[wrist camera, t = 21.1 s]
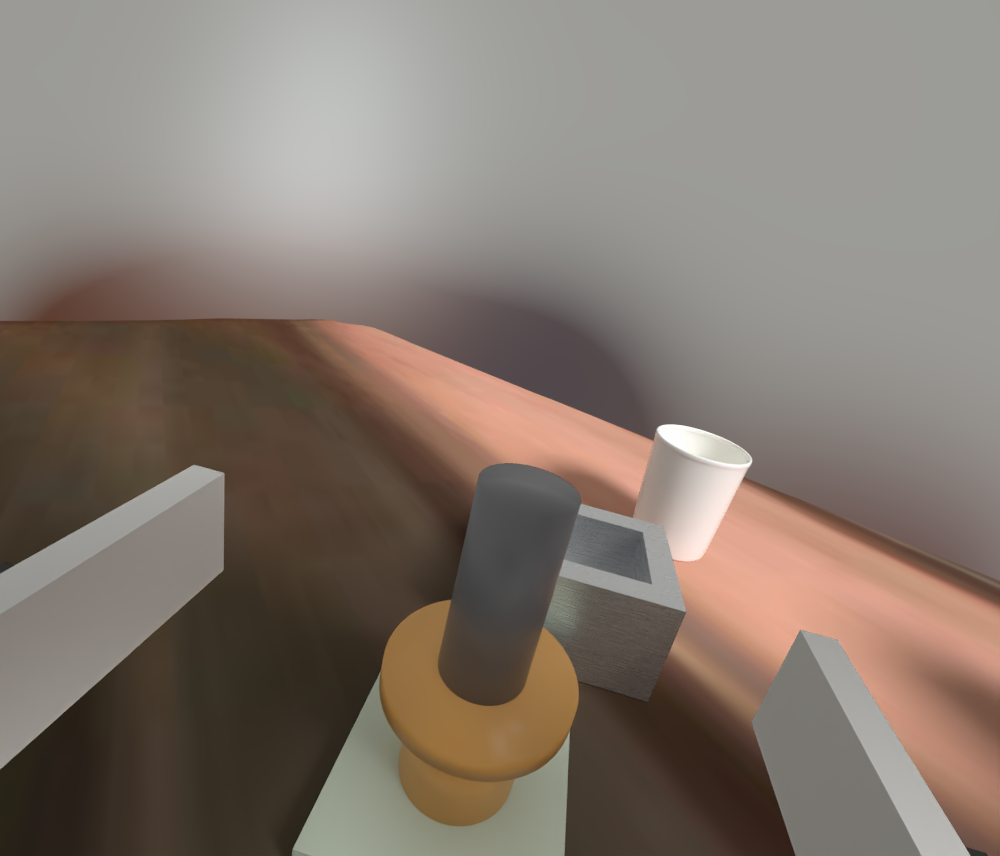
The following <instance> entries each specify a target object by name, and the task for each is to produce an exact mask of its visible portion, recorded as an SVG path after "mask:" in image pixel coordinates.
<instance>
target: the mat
mask: <svg viewBox="0 0 1000 856" xmlns="http://www.w3.org/2000/svg"><path fill="white" fill-rule="evenodd" d="M380 673H381V671H380ZM380 673H379V676H378V678H377V680H376V682H375V684H374V686H373V688H372V690H371V692H370V694H369V696H368V698H367V700H366V702H365V704H364V706H363V708H362V710H361V712H360V714H359V716H358V718H357V720H356V722H355V724H354V726H353V728H352V730H351V732H350V734H349V736H348V738H347V740H346V742H345V744H344V746H343V748H342V750H341V752H340V754H339V756H338V758H337V760H336V763H335V765H334V767H333V769H332V771H331V773H330V775H329V777H328V779H327V781H326V783H325V785H324V787H323V789H322V791H321V793H320V795H319V797H318V799H317V801H316V803H315V805H314V807H313V809H312V811H311V813H310V815H309V817H308V819H307V821H306V823H305V825H304V827H303V829H302V831H301V833H300V835H299V837H298V839H297V841H296V843H295V845H294V847H293V850H292V856H564V852H565V829H566V807H567V784H568V761H569V738H570V731H569V733H568V736H567V738H566V740H565V742H564V744H563V746H562V747H561V749H560V750H559V751H558V753H557V754H556V755H555V756H554V757H553V758H552V759H551V760H550V761H549V762H548V763H547V764H545V765H544V766H543V767H541V768H540V769H538V770H536V771H534V772H532V773H530V774H528V775H526V776H523V777H520V778H517V779H515V780H514V783H513V786H512V789H511V791H510V794H509V796H508V798H507V800H506V802H505V803H504V805H503V806H502V807H501V809H500V810H499V811H498V812H497V813H496V814H494V815H493V816H492V817H490V818H489V819H487V820H485V821H483V822H480V823H478V824H475V825H469V826H450V825H446V824H442V823H439V822H437V821H434V820H432V819H431V818H429V817H427V816H426V815H424V814H423V813H422V812H421V811H419V810H418V809H417V808H416V807H415V806H414V805H413V803H412V802H411V801H410V799H409V798H408V796H407V795H406V793H405V791H404V789H403V786H402V784H401V780H400V776H399V768H398V766H399V755H400V749H401V745H402V742H401V741H400V740H399V738H398V737H397V736H396V735H395V733H394V732H393V730H392V728H391V727H390V725H389V723H388V721H387V719H386V717H385V714H384V712H383V708H382V704H381V700H380V692H379V682H380Z"/></svg>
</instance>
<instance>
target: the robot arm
mask: <svg viewBox="0 0 1000 856" xmlns="http://www.w3.org/2000/svg"><path fill="white" fill-rule="evenodd" d="M223 570H224V473H222V472H218V471H215V470H211V469H207V468H204V467H200V466H196V465H193V466H191V467H189V468H188V469H186V470H184V471H182V472H180V473H179V474H177V475H175V476H173V477H172V478H170V479H168V480H166V481H164V482H163V483H161V484H159V485H157V486H155V487H154V488H152V489H150V490H148V491H147V492H145V493H143V494H141V495H139V496H138V497H136V498H134V499H132V500H131V501H129V502H127V503H125V504H123V505H122V506H120V507H118V508H116V509H114V510H113V511H111V512H109V513H107V514H106V515H104V516H102V517H100V518H98V519H97V520H95V521H93V522H91V523H90V524H88V525H86V526H84V527H82V528H81V529H79V530H77V531H75V532H74V533H72V534H70V535H68V536H66V537H65V538H63V539H61V540H59V541H57V542H56V543H54V544H52V545H50V546H49V547H47V548H45V549H43V550H41V551H40V552H38V553H36V554H34V555H33V556H31V557H29V558H27V559H25V560H24V561H22V562H20V563H18V564H16V565H12V564H9V563H4V564H1V565H0V769H1V768H2V767H3V766H4V765H6V764H7V763H8V762H9V761H10V760H11V759H12V758H13V757H15V756H16V755H17V754H18V753H19V752H20V751H21V750H22V749H23V748H25V747H26V746H27V745H28V744H29V743H30V742H31V741H32V740H34V739H35V738H36V737H37V736H38V735H39V734H40V733H41V732H43V731H44V730H45V729H46V728H47V727H48V726H49V725H50V724H52V723H53V722H54V721H55V720H56V719H57V718H58V717H59V716H60V715H62V714H63V713H64V712H65V711H66V710H67V709H68V708H69V707H71V706H72V705H73V704H74V703H75V702H76V701H77V700H78V699H80V698H81V697H82V696H83V695H84V694H85V693H86V692H87V691H89V690H90V689H91V688H92V687H93V686H94V685H95V684H96V683H97V682H99V681H100V680H101V679H102V678H103V677H104V676H105V675H106V674H108V673H109V672H110V671H111V670H112V669H113V668H114V667H115V666H117V665H118V664H119V663H120V662H121V661H122V660H123V659H124V658H126V657H127V656H128V655H129V654H130V653H131V652H132V651H133V650H134V649H136V648H137V647H138V646H139V645H140V644H141V643H142V642H143V641H145V640H146V639H147V638H148V637H149V636H150V635H151V634H152V633H154V632H155V631H156V630H157V629H158V628H159V627H160V626H161V625H163V624H164V623H165V622H166V621H167V620H168V619H169V618H170V617H172V616H173V615H174V614H175V613H176V612H177V611H178V610H179V609H180V608H182V607H183V606H184V605H185V604H186V603H187V602H188V601H189V600H191V599H192V598H193V597H194V596H195V595H196V594H197V593H198V592H200V591H201V590H202V589H203V588H204V587H205V586H206V585H207V584H209V583H210V582H211V581H212V580H213V579H214V578H215V577H216V576H217V575H219V574H220V573H221V572H222V571H223ZM751 723H752V726H753V729H754V732H755V735H756V738H757V741H758V744H759V747H760V750H761V753H762V756H763V759H764V762H765V765H766V768H767V771H768V774H769V777H770V780H771V783H772V786H773V789H774V792H775V795H776V798H777V801H778V804H779V807H780V810H781V813H782V816H783V819H784V822H785V825H786V828H787V831H788V834H789V837H790V840H791V843H792V846H793V849H794V852H795V855H796V856H988V855H987V854H986V853H983V852H980V851H977V850H973V849H970V848H967V847H965V846H964V844H963V843H962V841H961V839H960V838H959V836H958V835H957V833H956V831H955V830H954V828H953V826H952V825H951V823H950V822H949V820H948V818H947V817H946V815H945V813H944V812H943V810H942V809H941V807H940V805H939V804H938V802H937V800H936V799H935V797H934V796H933V794H932V792H931V791H930V789H929V787H928V786H927V784H926V783H925V781H924V779H923V778H922V776H921V774H920V773H919V771H918V770H917V768H916V766H915V765H914V763H913V762H912V760H911V758H910V757H909V755H908V753H907V752H906V750H905V749H904V747H903V745H902V744H901V742H900V740H899V739H898V737H897V736H896V734H895V732H894V731H893V729H892V727H891V726H890V724H889V723H888V721H887V719H886V718H885V716H884V714H883V713H882V711H881V710H880V708H879V706H878V705H877V703H876V701H875V700H874V698H873V697H872V695H871V693H870V692H869V690H868V688H867V687H866V685H865V684H864V682H863V680H862V679H861V677H860V676H859V674H858V672H857V671H856V669H855V667H854V666H853V664H852V663H851V661H850V659H849V658H848V656H847V654H846V653H845V651H844V650H843V648H842V646H841V645H840V643H839V641H838V640H836V639H833V638H829V637H825V636H822V635H818V634H814V633H811V632H807V631H803V630H800V631H799V633H798V635H797V637H796V639H795V641H794V643H793V645H792V646H791V648H790V650H789V652H788V654H787V656H786V658H785V660H784V662H783V664H782V665H781V667H780V669H779V671H778V673H777V675H776V677H775V679H774V681H773V683H772V684H771V686H770V688H769V690H768V692H767V694H766V696H765V698H764V700H763V702H762V703H761V705H760V707H759V709H758V711H757V713H756V715H755V717H754V719H753V720H752V722H751Z"/></svg>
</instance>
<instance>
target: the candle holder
mask: <svg viewBox="0 0 1000 856" xmlns="http://www.w3.org/2000/svg"><path fill="white" fill-rule="evenodd" d="M751 464H752V458H751V456H750V455H749V454H748V453H747V452H746V451H745V450H744V449H742V448H741V447H739V446H738V445H736V444H734V443H733V442H731V441H729V440H727V439H724V438H722V437H720V436H717V435H714V434H712V433H709V432H706V431H703V430H699V429H696V428H692V427H688V426H682V425H672V424H669V425H661V426H659V427H658V428H657V429H656V433H655V439H654V442H653V446H652V449H651V453H650V456H649V460H648V463H647V467H646V470H645V474H644V477H643V481H642V484H641V488H640V492H639V495H638V499H637V502H636V506H635V509H634V513H633V517H632V518H635V519H639V520H642V521H646V522H650V523H653V524H657V525H661V526H664V528H665V532H666V536H667V540H668V544H669V547H670V551H671V555H672V559H673V560H676V561H683V562H692V561H696V560H699V559H700V558H701V557H702V556H703V555H704V553H705V552H706V550H707V548H708V546H709V544H710V542H711V541H712V539H713V537H714V535H715V533H716V531H717V529H718V527H719V525H720V523H721V521H722V519H723V517H724V515H725V513H726V511H727V509H728V507H729V505H730V503H731V501H732V499H733V497H734V495H735V493H736V491H737V489H738V488H739V486H740V484H741V482H742V480H743V478H744V476H745V474H746V472H747V470H748V468H749V467H750V465H751Z"/></svg>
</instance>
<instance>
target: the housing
mask: <svg viewBox="0 0 1000 856" xmlns="http://www.w3.org/2000/svg"><path fill="white" fill-rule="evenodd" d="M685 614H686V609H685V605H684V601H683V597H682V594H681V590H680V586H679V582H678V578H677V574H676V571H675V567H674V563H673V559H672V555H671V551H670V547H669V544H668V540H667V536H666V532H665V528H664V526H661V525H657V524H653V523H650V522H646V521H642V520H639V519H635V518H631V517H628V516H624V515H620V514H617V513H613V512H609V511H606V510H602V509H598V508H595V507H591V506H587V505H584V504H581V505H580V508H579V512H578V515H577V518H576V521H575V525H574V528H573V531H572V534H571V538H570V541H569V544H568V547H567V551H566V554H565V557H564V560H563V564H562V567H561V570H560V573H559V576H558V580H557V583H556V586H555V589H554V593H553V596H552V599H551V602H550V606H549V609H548V612H547V615H546V619H545V622H544V625H543V627H544V628H545V629H546V630H547V631H548V632H550V633H551V634H552V635H553V636H554V637H555V639H556V640H557V641H558V642H559V643H560V645H561V646H562V647H563V649H564V650H565V652H566V653H567V655H568V657H569V659H570V661H571V663H572V665H573V667H574V670H575V673H576V676H577V681H580V682H583V683H586V684H590V685H593V686H596V687H599V688H603V689H606V690H609V691H613V692H616V693H619V694H623V695H626V696H629V697H633V698H636V699H639V700H643V701H646V702H648V700H649V697H650V695H651V693H652V690H653V688H654V686H655V684H656V681H657V679H658V677H659V674H660V672H661V670H662V667H663V665H664V663H665V660H666V658H667V656H668V653H669V651H670V649H671V646H672V644H673V642H674V639H675V637H676V635H677V632H678V630H679V628H680V625H681V623H682V621H683V619H684V616H685Z"/></svg>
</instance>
